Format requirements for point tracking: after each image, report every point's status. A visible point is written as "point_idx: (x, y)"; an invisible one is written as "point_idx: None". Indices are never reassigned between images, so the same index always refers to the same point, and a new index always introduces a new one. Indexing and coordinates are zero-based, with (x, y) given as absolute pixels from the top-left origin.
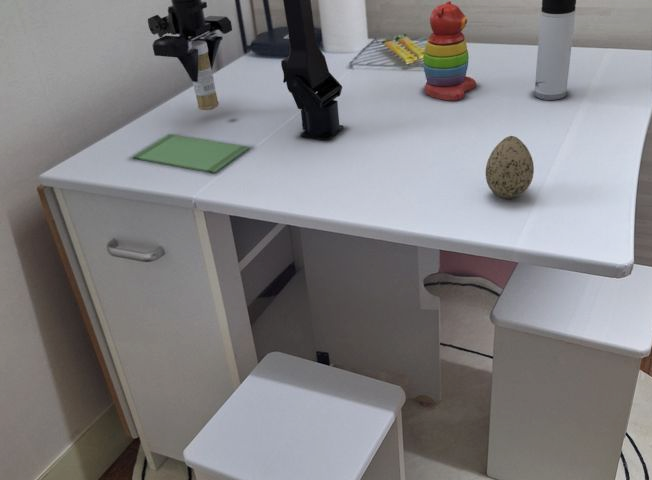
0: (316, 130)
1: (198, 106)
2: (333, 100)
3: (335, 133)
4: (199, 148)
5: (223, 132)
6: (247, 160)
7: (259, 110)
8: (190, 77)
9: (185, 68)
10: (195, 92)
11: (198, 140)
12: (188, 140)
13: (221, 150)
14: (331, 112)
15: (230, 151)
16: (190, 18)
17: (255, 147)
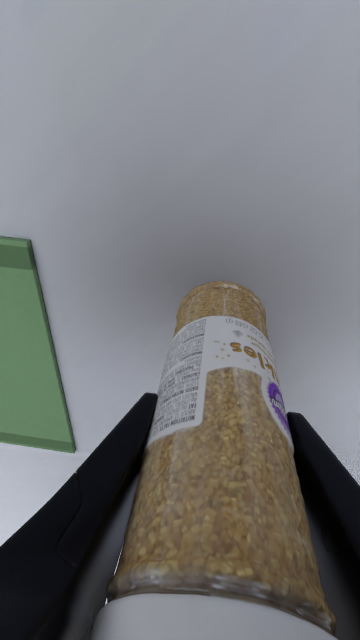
0: None
1: (185, 300)
2: None
3: None
4: (11, 376)
5: (126, 379)
6: (37, 458)
7: (294, 406)
8: (129, 412)
9: (83, 468)
10: (176, 338)
11: (43, 354)
12: (29, 329)
13: (32, 419)
14: None
15: (39, 433)
16: None
17: (87, 455)
